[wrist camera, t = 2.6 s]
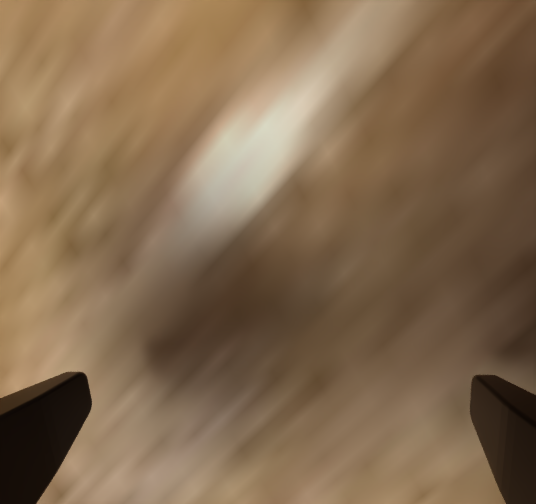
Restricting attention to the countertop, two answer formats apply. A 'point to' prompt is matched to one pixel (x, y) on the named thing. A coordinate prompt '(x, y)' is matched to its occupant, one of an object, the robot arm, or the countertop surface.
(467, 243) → the countertop surface
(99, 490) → the countertop surface
